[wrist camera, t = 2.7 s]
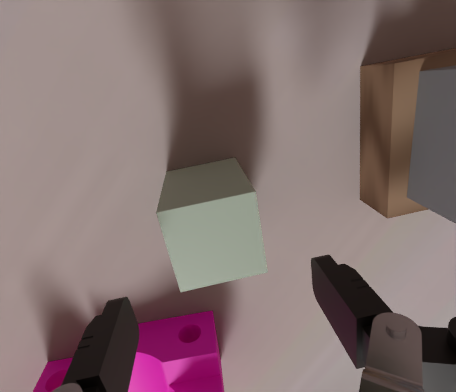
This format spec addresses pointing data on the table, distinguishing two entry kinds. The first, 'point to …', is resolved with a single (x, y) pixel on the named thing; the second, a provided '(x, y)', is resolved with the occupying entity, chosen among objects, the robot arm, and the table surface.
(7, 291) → the table surface
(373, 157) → the block
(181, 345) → the toy block
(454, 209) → the block
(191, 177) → the sage block
